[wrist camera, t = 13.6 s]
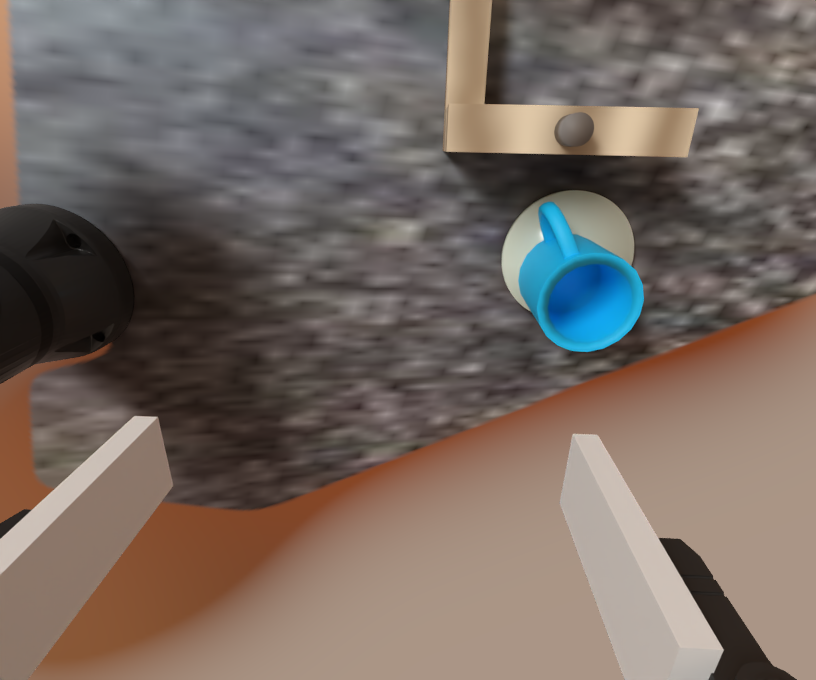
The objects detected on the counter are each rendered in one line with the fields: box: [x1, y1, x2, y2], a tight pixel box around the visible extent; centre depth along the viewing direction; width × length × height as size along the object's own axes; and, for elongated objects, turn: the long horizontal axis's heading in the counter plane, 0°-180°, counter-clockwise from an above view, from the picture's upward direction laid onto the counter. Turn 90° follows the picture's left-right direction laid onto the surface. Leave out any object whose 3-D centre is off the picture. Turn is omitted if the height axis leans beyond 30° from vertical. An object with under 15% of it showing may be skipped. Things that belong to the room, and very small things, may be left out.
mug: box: [518, 202, 644, 352], centre depth 39 cm, size 12×8×8 cm
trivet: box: [501, 190, 634, 311], centre depth 43 cm, size 12×12×1 cm
